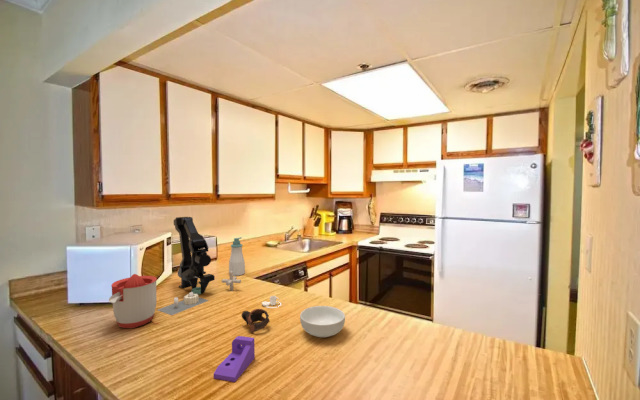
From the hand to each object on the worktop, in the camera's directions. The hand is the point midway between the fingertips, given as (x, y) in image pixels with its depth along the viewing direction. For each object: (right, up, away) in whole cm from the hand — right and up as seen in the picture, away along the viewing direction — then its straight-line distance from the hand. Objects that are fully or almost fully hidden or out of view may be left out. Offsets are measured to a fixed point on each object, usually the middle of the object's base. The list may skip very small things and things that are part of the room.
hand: (198, 292), depth 151 cm
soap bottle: (+10, 0, +36) cm, 37 cm away
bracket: (+37, -4, -61) cm, 72 cm away
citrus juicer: (-13, -3, -32) cm, 34 cm away
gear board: (0, -2, -16) cm, 16 cm away
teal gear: (0, -1, 0) cm, 1 cm away
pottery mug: (+37, -3, -35) cm, 51 cm away
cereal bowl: (+64, -3, -40) cm, 75 cm away
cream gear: (+2, 0, -13) cm, 13 cm away
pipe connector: (+15, -1, +6) cm, 16 cm away
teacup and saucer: (+38, -2, -11) cm, 40 cm away
